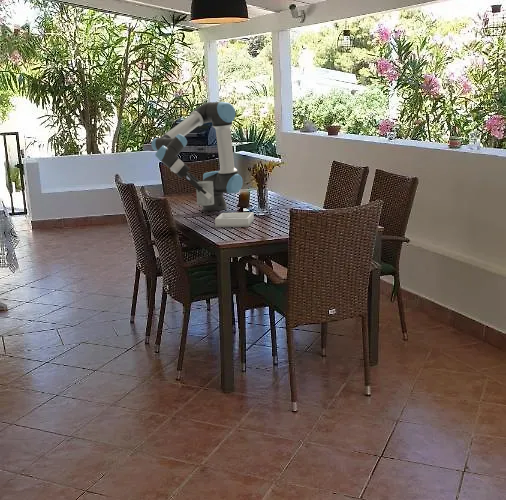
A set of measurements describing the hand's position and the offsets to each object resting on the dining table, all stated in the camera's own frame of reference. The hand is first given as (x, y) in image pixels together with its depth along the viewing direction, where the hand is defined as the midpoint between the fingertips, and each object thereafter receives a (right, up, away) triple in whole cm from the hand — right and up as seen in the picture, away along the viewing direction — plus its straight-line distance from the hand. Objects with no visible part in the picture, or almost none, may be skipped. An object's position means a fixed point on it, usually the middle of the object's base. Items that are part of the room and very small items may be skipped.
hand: (210, 195), depth 390 cm
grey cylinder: (-3, -5, +1) cm, 6 cm away
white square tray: (+13, -16, -5) cm, 21 cm away
